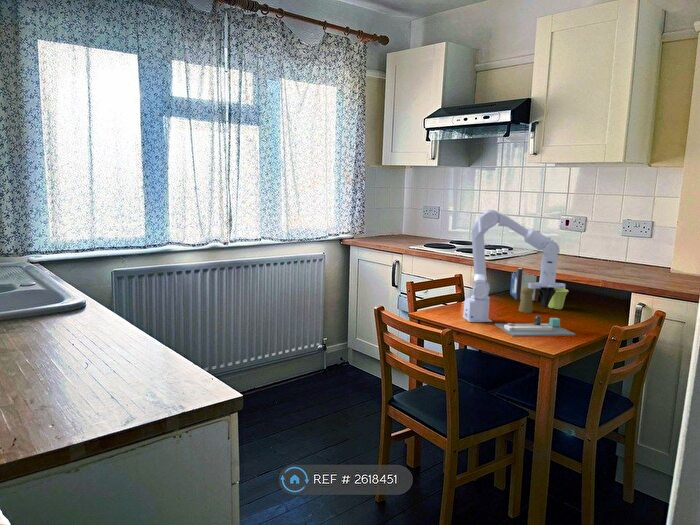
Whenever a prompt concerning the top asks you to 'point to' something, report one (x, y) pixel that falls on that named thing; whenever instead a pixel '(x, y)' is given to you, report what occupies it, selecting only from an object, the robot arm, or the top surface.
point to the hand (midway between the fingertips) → (544, 306)
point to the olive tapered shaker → (526, 300)
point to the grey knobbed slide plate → (534, 330)
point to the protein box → (522, 284)
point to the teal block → (554, 322)
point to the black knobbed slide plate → (537, 323)
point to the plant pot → (558, 299)
